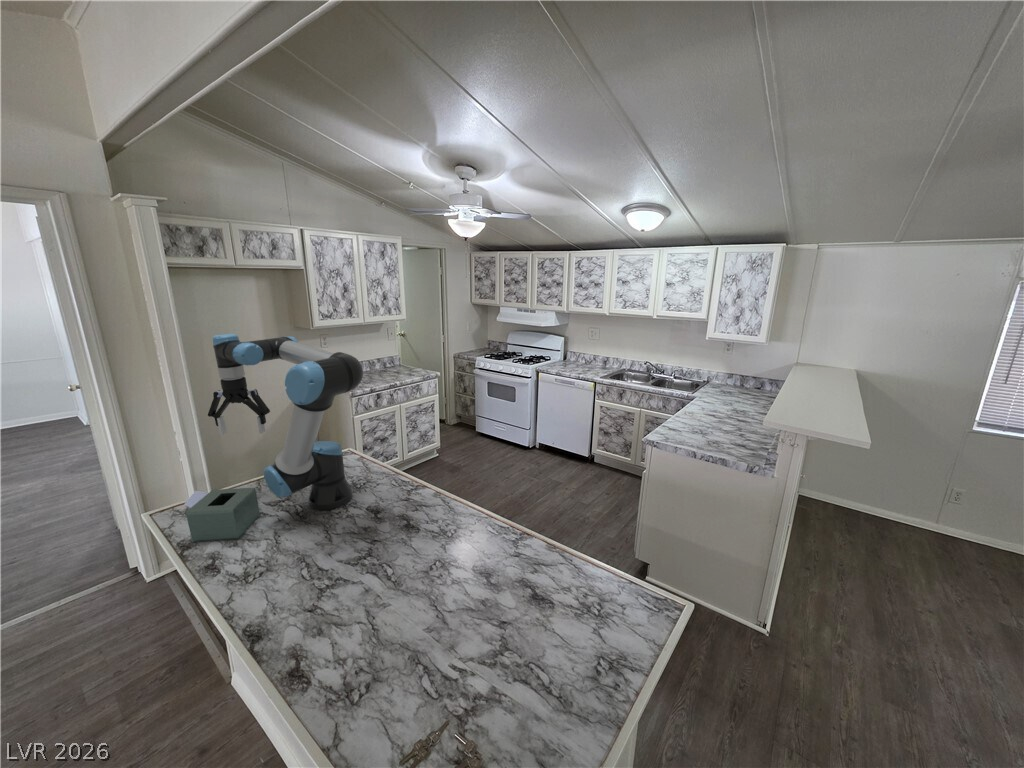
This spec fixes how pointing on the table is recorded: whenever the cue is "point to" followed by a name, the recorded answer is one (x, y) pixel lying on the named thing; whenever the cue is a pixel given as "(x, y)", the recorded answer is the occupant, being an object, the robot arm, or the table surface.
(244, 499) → the coin box
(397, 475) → the table surface
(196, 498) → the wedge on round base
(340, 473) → the robot arm
